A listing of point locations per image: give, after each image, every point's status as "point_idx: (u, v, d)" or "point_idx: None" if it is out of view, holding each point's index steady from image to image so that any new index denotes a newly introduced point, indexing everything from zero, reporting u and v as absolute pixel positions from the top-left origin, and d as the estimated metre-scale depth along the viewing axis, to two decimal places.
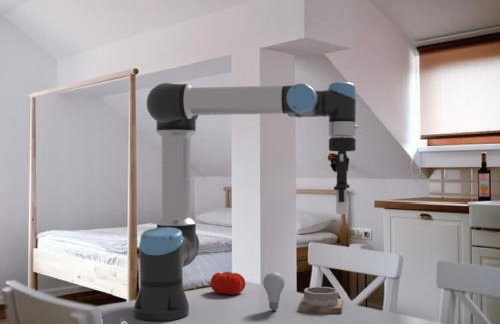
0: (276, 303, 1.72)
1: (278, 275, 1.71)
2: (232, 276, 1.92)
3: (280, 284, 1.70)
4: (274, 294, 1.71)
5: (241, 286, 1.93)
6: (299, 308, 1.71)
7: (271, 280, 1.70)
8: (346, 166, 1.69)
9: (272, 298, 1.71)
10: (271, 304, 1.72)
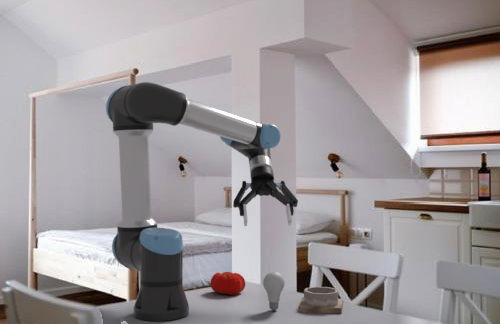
0: (276, 303, 1.72)
1: (278, 275, 1.71)
2: (232, 276, 1.92)
3: (280, 284, 1.70)
4: (274, 294, 1.71)
5: (241, 286, 1.93)
6: (299, 308, 1.71)
7: (271, 280, 1.70)
8: None
9: (272, 298, 1.71)
10: (271, 304, 1.72)
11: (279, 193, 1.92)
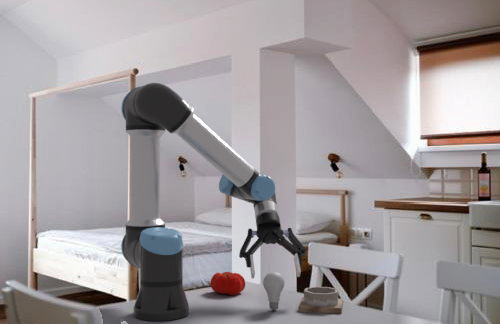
0: (276, 303, 1.72)
1: (278, 275, 1.71)
2: (232, 276, 1.92)
3: (280, 284, 1.70)
4: (274, 294, 1.71)
5: (241, 286, 1.93)
6: (299, 308, 1.71)
7: (271, 280, 1.70)
8: None
9: (272, 298, 1.71)
10: (271, 304, 1.72)
11: (286, 242, 1.85)
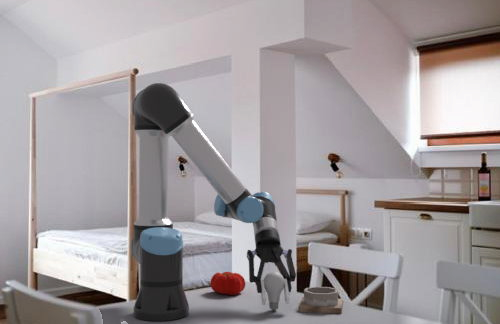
0: (276, 303, 1.72)
1: (278, 275, 1.71)
2: (232, 276, 1.92)
3: (280, 284, 1.70)
4: (274, 294, 1.71)
5: (241, 286, 1.93)
6: (299, 308, 1.71)
7: (271, 280, 1.70)
8: None
9: (272, 298, 1.71)
10: (271, 304, 1.72)
11: (281, 263, 1.77)
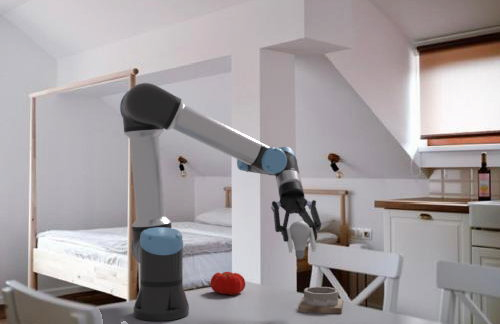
0: (302, 251, 1.74)
1: (304, 223, 1.73)
2: (232, 276, 1.92)
3: (306, 232, 1.72)
4: (300, 242, 1.73)
5: (241, 286, 1.93)
6: (299, 308, 1.71)
7: (297, 228, 1.72)
8: None
9: (298, 247, 1.73)
10: (297, 252, 1.74)
11: (306, 213, 1.79)
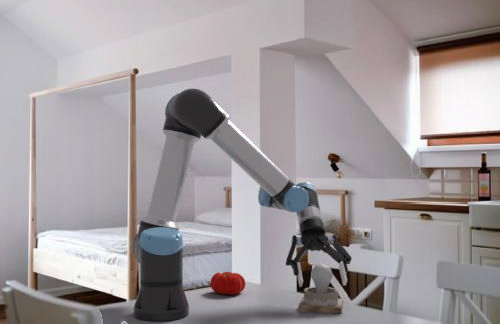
0: None
1: (326, 267, 1.75)
2: (232, 276, 1.92)
3: (328, 276, 1.74)
4: (322, 286, 1.75)
5: (241, 286, 1.93)
6: (299, 308, 1.71)
7: (319, 271, 1.74)
8: None
9: (320, 290, 1.75)
10: None
11: (332, 249, 1.81)
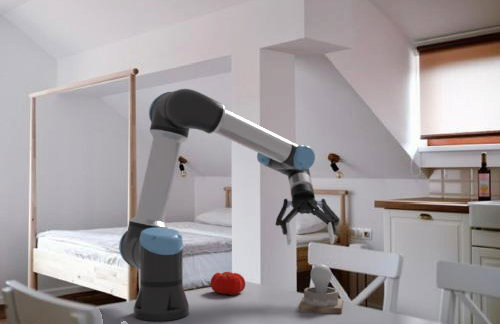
0: None
1: (325, 267, 1.75)
2: (232, 276, 1.92)
3: (327, 276, 1.74)
4: (322, 286, 1.75)
5: (241, 286, 1.93)
6: (299, 308, 1.71)
7: (319, 272, 1.74)
8: None
9: (320, 290, 1.75)
10: None
11: (320, 211, 1.94)
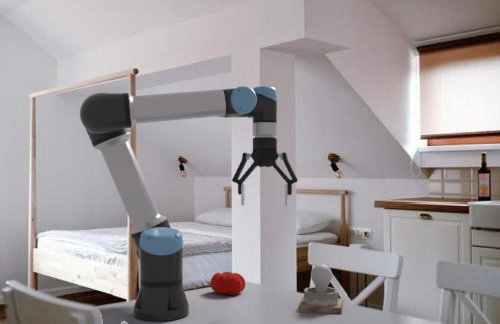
0: None
1: (326, 267, 1.75)
2: (232, 276, 1.92)
3: (328, 276, 1.74)
4: (322, 286, 1.75)
5: (241, 286, 1.93)
6: (299, 308, 1.71)
7: (319, 272, 1.74)
8: (276, 163, 1.89)
9: (320, 290, 1.75)
10: None
11: (279, 170, 1.86)
